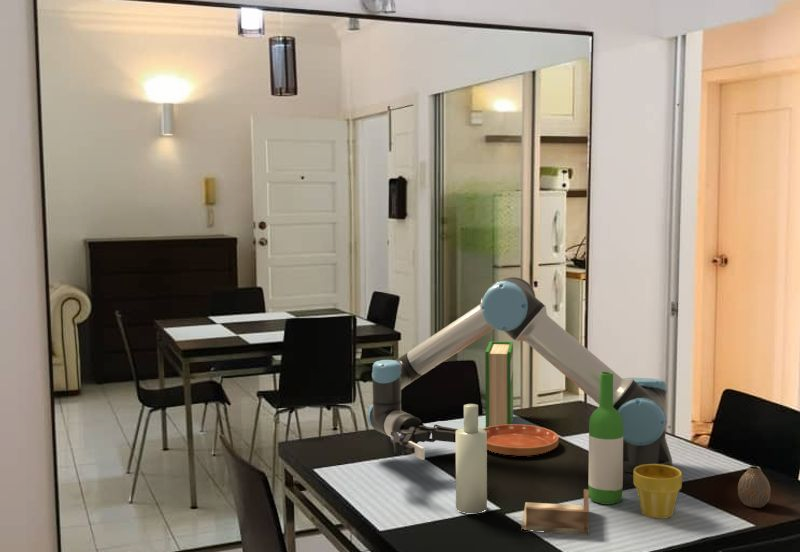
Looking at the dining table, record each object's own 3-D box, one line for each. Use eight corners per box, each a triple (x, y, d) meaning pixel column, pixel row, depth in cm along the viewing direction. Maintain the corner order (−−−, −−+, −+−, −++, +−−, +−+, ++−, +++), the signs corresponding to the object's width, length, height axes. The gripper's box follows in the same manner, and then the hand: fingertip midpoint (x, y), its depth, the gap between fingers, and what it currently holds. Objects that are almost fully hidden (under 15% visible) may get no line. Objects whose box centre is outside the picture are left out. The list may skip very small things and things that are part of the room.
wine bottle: (585, 493, 210) (586, 369, 207) (618, 493, 209) (620, 369, 206) (591, 505, 202) (592, 376, 199) (625, 505, 202) (627, 376, 199)
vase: (767, 512, 196) (768, 474, 196) (734, 507, 200) (735, 469, 199) (772, 502, 202) (773, 465, 201) (740, 497, 206) (741, 461, 205)
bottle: (488, 504, 204) (488, 402, 201) (485, 515, 197) (484, 410, 194) (458, 502, 205) (457, 401, 203) (454, 513, 198) (453, 409, 196)
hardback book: (510, 431, 264) (510, 352, 261) (485, 430, 265) (485, 351, 263) (513, 416, 281) (513, 341, 279) (489, 415, 282) (489, 341, 280)
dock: (588, 510, 199) (588, 489, 198) (588, 535, 185) (588, 512, 185) (525, 507, 201) (525, 486, 201) (521, 530, 188) (521, 508, 187)
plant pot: (653, 525, 190) (654, 481, 189) (623, 509, 199) (623, 467, 198) (691, 517, 194) (692, 474, 193) (659, 502, 203) (660, 461, 202)
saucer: (571, 443, 252) (571, 430, 251) (538, 465, 233) (538, 451, 232) (498, 432, 264) (498, 420, 264) (462, 452, 245) (462, 439, 244)
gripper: (446, 435, 233) (491, 456, 215) (361, 449, 221) (401, 473, 203) (445, 407, 232) (491, 426, 214) (360, 420, 221) (401, 441, 202)
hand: (448, 449), depth 208 cm, fingers open, 13 cm apart
